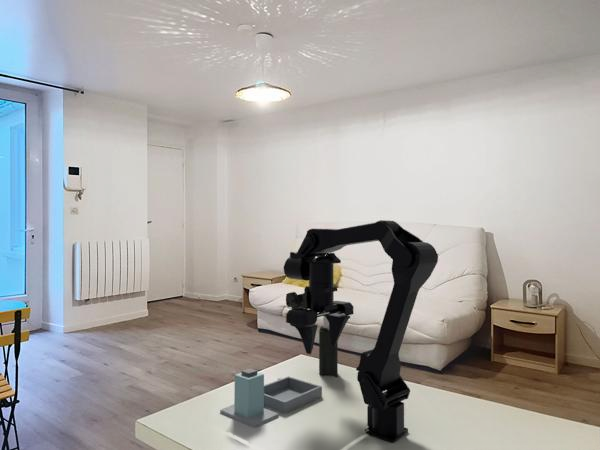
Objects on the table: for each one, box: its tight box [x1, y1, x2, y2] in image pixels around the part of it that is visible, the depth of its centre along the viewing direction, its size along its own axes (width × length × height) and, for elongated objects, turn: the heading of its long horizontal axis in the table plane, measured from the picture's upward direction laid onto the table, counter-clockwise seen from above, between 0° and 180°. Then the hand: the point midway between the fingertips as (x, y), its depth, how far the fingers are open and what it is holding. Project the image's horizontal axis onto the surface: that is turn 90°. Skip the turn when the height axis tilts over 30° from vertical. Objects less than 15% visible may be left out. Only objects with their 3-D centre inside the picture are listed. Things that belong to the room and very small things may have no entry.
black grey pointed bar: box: [318, 311, 339, 378], centre depth 120 cm, size 5×5×25 cm
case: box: [264, 376, 323, 414], centre depth 102 cm, size 12×13×3 cm
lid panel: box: [219, 404, 279, 429], centre depth 92 cm, size 11×7×1 cm, turn 49°
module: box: [233, 368, 265, 418], centre depth 93 cm, size 4×4×9 cm
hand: (321, 349), depth 99 cm, fingers open, 9 cm apart
